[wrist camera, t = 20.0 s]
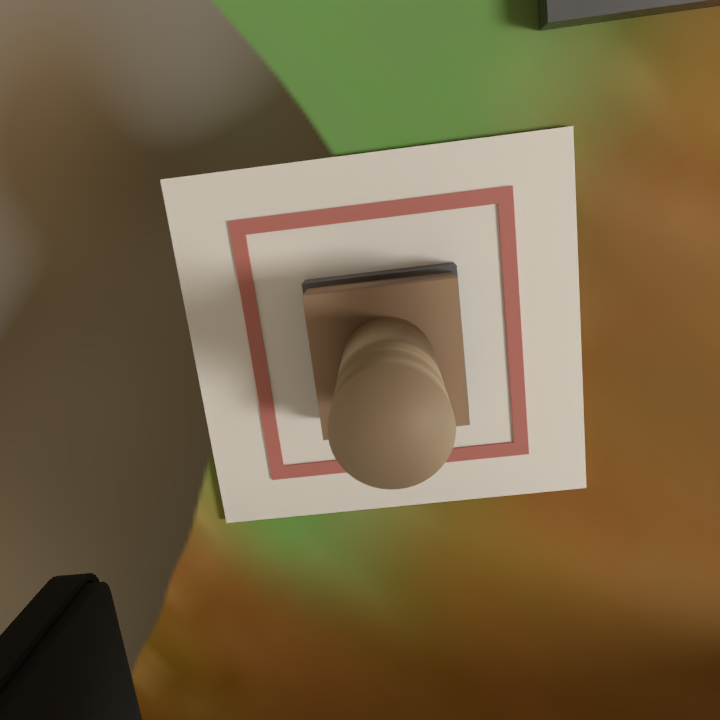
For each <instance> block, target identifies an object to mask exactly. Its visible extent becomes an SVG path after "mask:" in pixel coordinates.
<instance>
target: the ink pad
mask: <svg viewBox="0 0 720 720" xmlns="http://www.w3.org/2000/svg"><path fill="white" fill-rule="evenodd" d="M538 3H539V25H540V30H547V29H555V28H562V27H569V26H576V25H583V24H591V23H598V22H605V21H612V20H620V19H627V18H634V17H641V16H648V15H656V14H663V13H670V12H677V11H684V10H692V9H699V8H706V7H713V6H720V0H538Z"/></svg>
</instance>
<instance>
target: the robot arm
mask: <svg viewBox="0 0 720 720" xmlns="http://www.w3.org/2000/svg"><path fill="white" fill-rule="evenodd" d="M0 720H142V718H141V714H140V709H139V705H138V701H137V697H136V693H135V689H134V685H133V681H132V677H131V673H130V668H129V664H128V660H127V656H126V652H125V648H124V644H123V640H122V636H121V631H120V628H119V623H118V619H117V615H116V611H115V607H114V603H113V599H112V594H111V591H110V588H109V586H108V584H107V583H105V582H99V579H98V578H97V577H96V575H94V574H92V573H87V574H75V575H64V576H56V577H53V578H52V579H50V580H49V581H48V582H47V584H46V585H45V586H44V587H43V588H42V589H41V590H40V591H39V593H38V594H37V595H36V596H35V597H34V598H33V599H32V600H31V601H30V603H29V604H28V605H27V606H26V607H25V608H24V609H23V611H22V612H21V613H20V614H19V615H18V616H17V617H16V618H15V620H14V621H13V622H12V623H11V624H10V625H9V626H8V628H7V629H6V630H5V631H4V632H3V633H2V634H1V635H0Z"/></svg>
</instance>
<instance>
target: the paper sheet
mask: <svg viewBox="0 0 720 720" xmlns="http://www.w3.org/2000/svg"><path fill="white" fill-rule="evenodd" d="M160 182H161V187H162V192H163V198H164V203H165V208H166V213H167V218H168V223H169V228H170V233H171V238H172V244H173V249H174V254H175V259H176V265H177V270H178V275H179V280H180V285H181V290H182V295H183V301H184V306H185V311H186V316H187V322H188V327H189V331H190V337H191V342H192V347H193V353H194V358H195V363H196V368H197V373H198V378H199V384H200V389H201V394H202V399H203V404H204V409H205V414H206V420H207V424H208V430H209V435H210V440H211V446H212V451H213V456H214V461H215V466H216V471H217V477H218V482H219V487H220V492H221V497H222V502H223V508H224V513H225V518H226V523H231V522H241V521H252V520H262V519H272V518H282V517H293V516H303V515H313V514H323V513H334V512H344V511H354V510H364V509H375V508H385V507H395V506H405V505H416V504H426V503H436V502H446V501H457V500H467V499H477V498H487V497H498V496H508V495H518V494H528V493H538V492H549V491H559V490H569V489H579V488H586V464H585V436H584V409H583V382H582V354H581V327H580V299H579V272H578V244H577V217H576V189H575V162H574V135H573V126H569V127H561V128H554V129H546V130H538V131H531V132H523V133H515V134H507V135H500V136H492V137H484V138H477V139H469V140H461V141H453V142H446V143H438V144H430V145H423V146H415V147H407V148H400V149H392V150H384V151H376V152H369V153H361V154H353V155H346V156H338V157H330V158H323V159H315V160H307V161H300V162H292V163H284V164H277V165H269V166H261V167H254V168H246V169H238V170H230V171H223V172H215V173H207V174H199V175H192V176H185V177H176V178H168V179H161V180H160ZM450 262H454V263H455V264H456V265H457V275H458V287H459V298H460V310H461V322H462V334H463V346H464V358H465V370H466V381H467V393H468V405H469V420H470V425H464V426H456V437H455V442H454V446H453V449H452V451H451V454H450V456H449V457H448V459H447V461H446V462H445V464H444V465H443V466H442V467H441V468H440V469H439V470H438V471H437V472H436V473H435V474H434V475H433V476H431V477H430V478H429V479H427V480H425V481H424V482H422V483H420V484H417V485H415V486H412V487H408V488H403V489H392V490H389V489H380V488H375V487H372V486H369V485H366V484H364V483H362V482H360V481H358V480H356V479H355V478H353V477H352V476H351V475H349V474H348V473H347V472H346V471H345V470H344V469H343V468H342V467H341V466H340V464H339V463H338V462H337V460H336V459H335V457H334V455H333V453H332V450H331V447H330V444H329V440H323V435H322V429H321V422H320V415H319V408H318V401H317V395H316V388H315V381H314V374H313V367H312V360H311V354H310V347H309V340H308V333H307V326H306V319H305V313H304V306H303V299H302V295H303V291H302V283H303V282H304V280H307V279H316V278H324V277H332V276H341V275H349V274H357V273H366V272H374V271H383V270H391V269H399V268H408V267H416V266H425V265H433V264H441V263H450Z"/></svg>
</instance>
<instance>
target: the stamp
mask: <svg viewBox="0 0 720 720" xmlns="http://www.w3.org/2000/svg"><path fill="white" fill-rule="evenodd" d="M302 291H303V295H302V299H303V306H304V313H305V319H306V326H307V333H308V340H309V347H310V354H311V360H312V367H313V374H314V381H315V388H316V395H317V401H318V408H319V415H320V422H321V429H322V435H323V440H329V444H330V447H331V450H332V453H333V455H334V457H335V459H336V460H337V462H338V463H339V464H340V466H341V467H342V468H343V469H344V470H345V471H346V472H347V473H348V474H349V475H351V476H352V477H353V478H355V479H356V480H358V481H360V482H362V483H364V484H366V485H369V486H372V487H375V488H380V489H389V490H392V489H403V488H408V487H412V486H415V485H417V484H420V483H422V482H424V481H425V480H427V479H429V478H430V477H431V476H433V475H434V474H435V473H436V472H437V471H438V470H439V469H440V468H441V467H442V466H443V465H444V464H445V462H446V461H447V459H448V457H449V456H450V454H451V451H452V449H453V446H454V442H455V437H456V426H464V425H470V420H469V405H468V393H467V381H466V370H465V358H464V346H463V334H462V322H461V310H460V298H459V287H458V275H457V265H456V264H455V263H454V262H450V263H441V264H433V265H425V266H416V267H408V268H399V269H391V270H383V271H374V272H366V273H357V274H349V275H341V276H332V277H324V278H316V279H307V280H304V282H303V283H302Z"/></svg>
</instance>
